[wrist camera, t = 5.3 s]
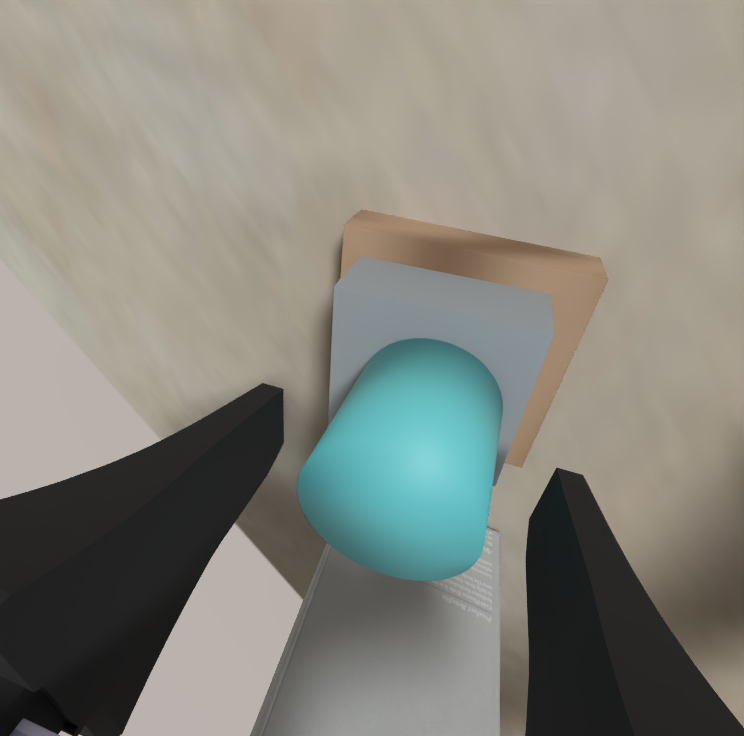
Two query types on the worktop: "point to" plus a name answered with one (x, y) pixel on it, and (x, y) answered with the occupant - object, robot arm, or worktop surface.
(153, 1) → the worktop surface
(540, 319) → the slate top slab
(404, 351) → the teal cylinder
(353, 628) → the skincare box
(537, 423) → the walnut base slab
